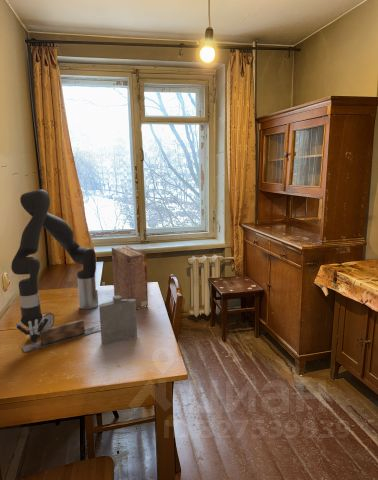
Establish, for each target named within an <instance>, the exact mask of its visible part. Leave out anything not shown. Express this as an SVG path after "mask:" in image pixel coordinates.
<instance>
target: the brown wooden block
mask: <svg viewBox="0 0 378 480" xmlns="http://www.w3.org/2000/svg"><path fill="white" fill-rule="evenodd" d="M82 333H85V321H84V319H77V320H74V321H70V322H66V323H62V324H59V325H53V326H52V327H50V328H46V329H45V328H43V329H42V331H41V332H40V335H39V337H40V342H41V343H42V344H43V345H47V344H48V343H50V342H54V341H57V340H61V339H64V338H68V337H72V336H75V335H79V334H82Z"/></svg>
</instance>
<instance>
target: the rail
mask: <svg viewBox="0 0 378 480" xmlns="http://www.w3.org/2000/svg"><path fill="white" fill-rule="evenodd" d="M98 332H101V327H100V324H99V325H97V326H93V327H89V328H86V329H85V333H82V334H79V335H75V336H72V337H68V338H64V339H61V340H57V341H54V342H50V343H48V344H47V345H43V344H42V343H41V341H39V342H38V341H37V342H35V343H30V344H26V345H24V346H21V349H22V351H23V353H28V352H29V353H30V352H32V351H36V350H38V349H42V348H46V347H49V346H53V345H57V344H61V343H63V342H67V341H70V340H74V339H77V338H81V337H84V336H88V335H92V334H94V333H98Z"/></svg>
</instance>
